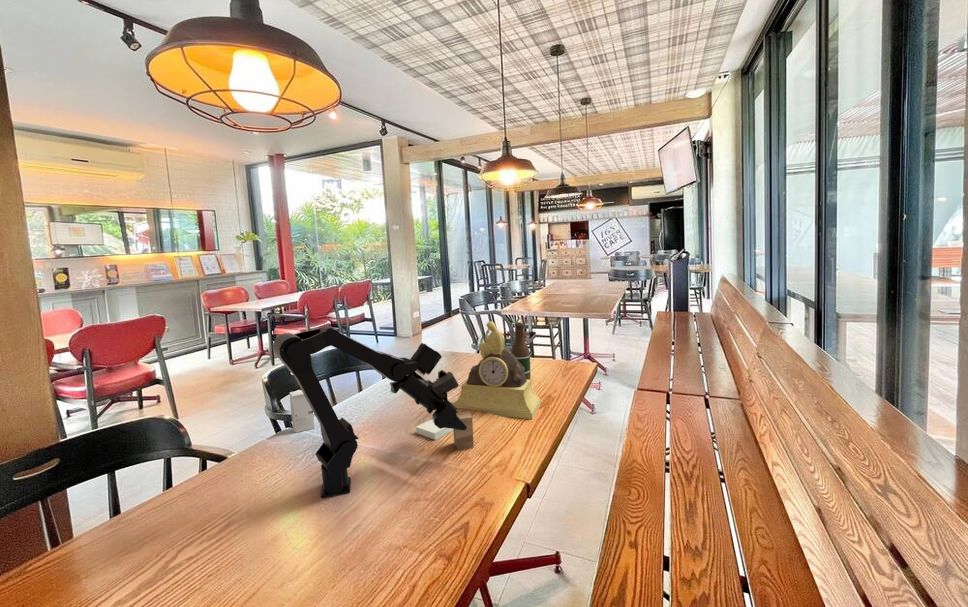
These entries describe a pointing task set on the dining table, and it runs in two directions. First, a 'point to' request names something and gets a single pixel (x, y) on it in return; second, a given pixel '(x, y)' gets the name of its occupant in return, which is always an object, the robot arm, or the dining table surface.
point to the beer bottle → (521, 349)
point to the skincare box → (301, 412)
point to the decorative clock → (498, 382)
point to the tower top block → (432, 430)
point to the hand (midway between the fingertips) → (461, 422)
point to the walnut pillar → (464, 432)
